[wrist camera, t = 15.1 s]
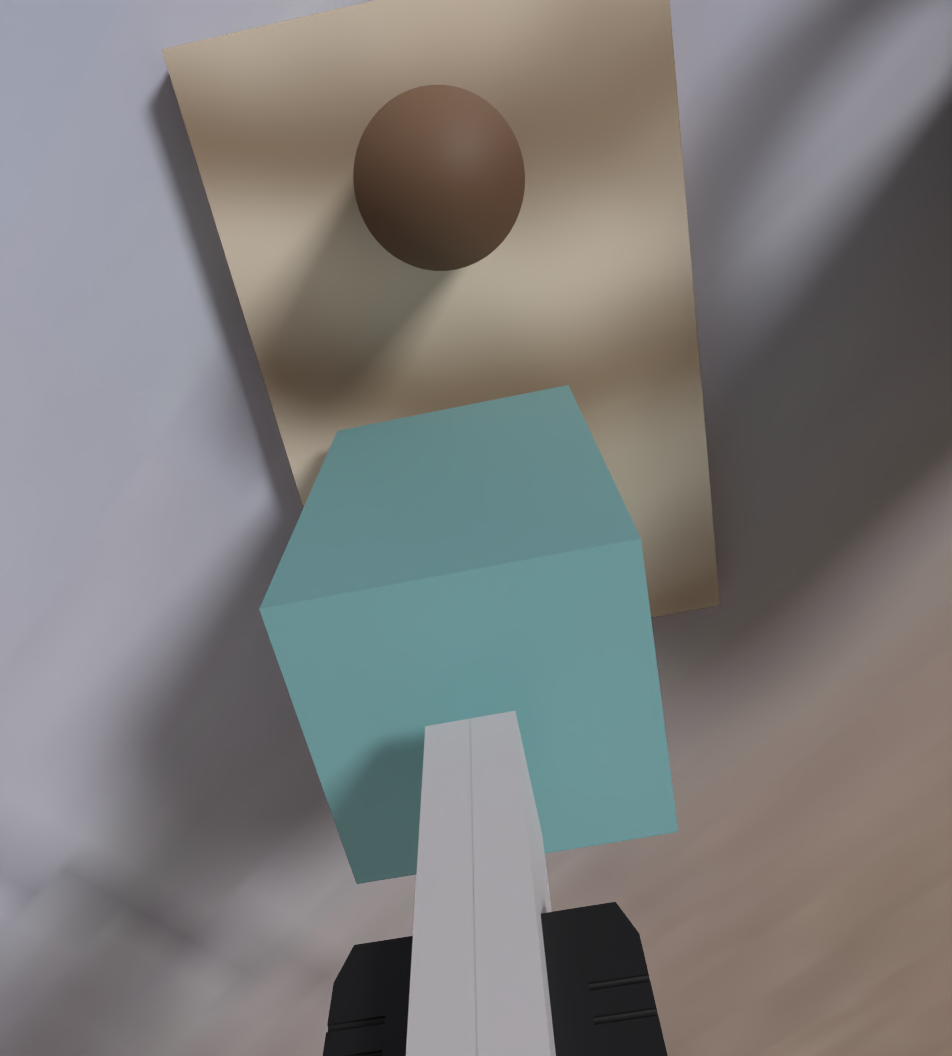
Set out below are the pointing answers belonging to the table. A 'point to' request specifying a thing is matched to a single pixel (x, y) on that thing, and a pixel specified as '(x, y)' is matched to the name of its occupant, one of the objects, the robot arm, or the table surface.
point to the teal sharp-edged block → (472, 623)
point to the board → (510, 300)
